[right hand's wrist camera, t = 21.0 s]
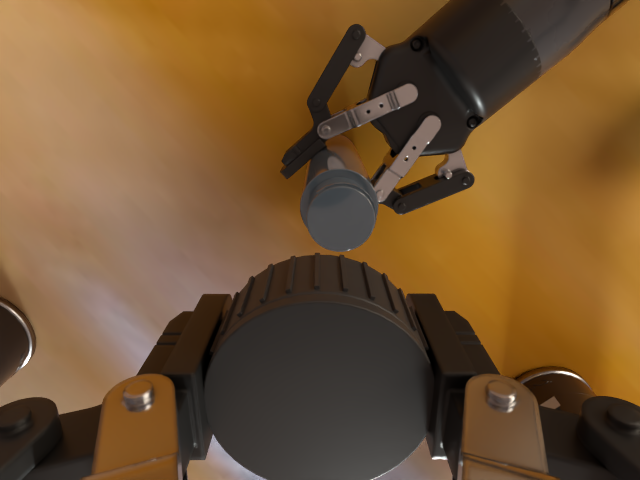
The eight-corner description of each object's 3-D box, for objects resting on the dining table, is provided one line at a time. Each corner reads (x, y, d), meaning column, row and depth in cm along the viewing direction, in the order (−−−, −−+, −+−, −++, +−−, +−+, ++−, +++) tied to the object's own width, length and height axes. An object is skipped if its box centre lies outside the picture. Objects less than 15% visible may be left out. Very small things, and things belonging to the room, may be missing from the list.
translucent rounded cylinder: (366, 164, 37) (399, 231, 21) (326, 190, 38) (328, 274, 22) (340, 123, 36) (354, 160, 20) (299, 151, 37) (280, 208, 21)
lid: (212, 253, 10) (182, 300, 8) (423, 248, 10) (451, 294, 8) (232, 417, 12) (213, 494, 10) (411, 414, 12) (432, 490, 10)
